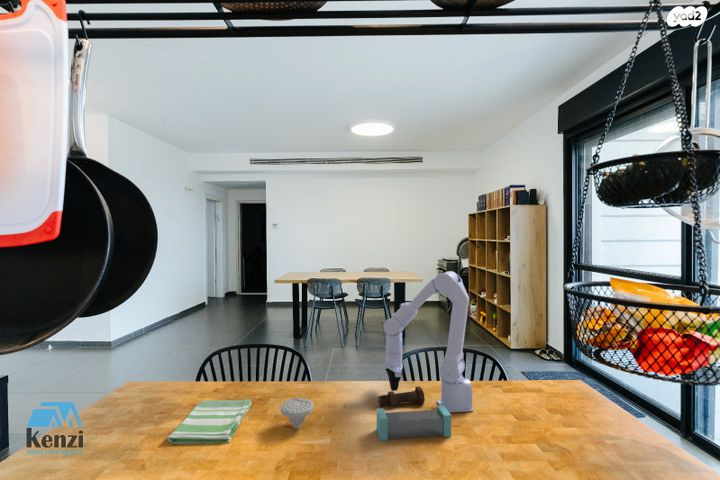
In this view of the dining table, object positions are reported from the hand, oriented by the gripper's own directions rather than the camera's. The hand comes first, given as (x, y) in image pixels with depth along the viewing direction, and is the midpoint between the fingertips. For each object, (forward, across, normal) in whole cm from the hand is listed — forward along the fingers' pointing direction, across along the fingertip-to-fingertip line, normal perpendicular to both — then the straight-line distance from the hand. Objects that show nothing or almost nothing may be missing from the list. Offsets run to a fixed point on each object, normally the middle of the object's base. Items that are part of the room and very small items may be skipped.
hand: (394, 389), depth 126 cm
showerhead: (+2, +19, -33) cm, 38 cm away
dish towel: (+2, +13, -58) cm, 60 cm away
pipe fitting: (+2, +26, 0) cm, 26 cm away
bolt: (+2, +8, 0) cm, 8 cm away
